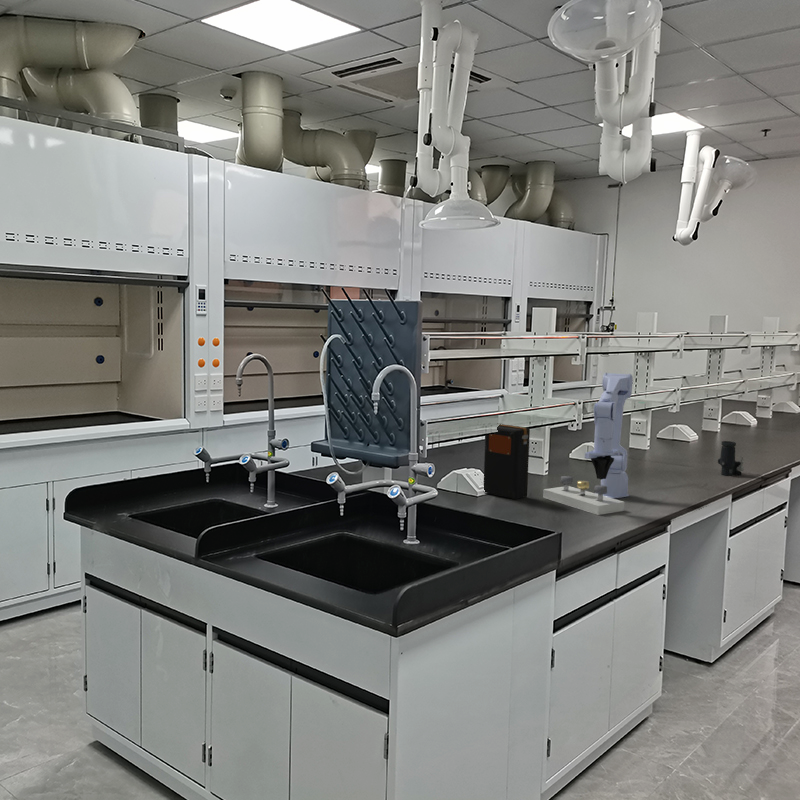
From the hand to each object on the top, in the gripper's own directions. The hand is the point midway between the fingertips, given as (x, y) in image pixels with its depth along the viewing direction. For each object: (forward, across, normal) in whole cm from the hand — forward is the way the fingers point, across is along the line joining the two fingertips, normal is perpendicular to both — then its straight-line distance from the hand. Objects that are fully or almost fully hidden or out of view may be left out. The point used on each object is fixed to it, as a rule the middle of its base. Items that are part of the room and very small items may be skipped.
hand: (601, 478), depth 244 cm
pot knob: (+8, 0, +8) cm, 11 cm away
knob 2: (+8, 0, 0) cm, 8 cm away
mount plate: (+10, 0, +8) cm, 13 cm away
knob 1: (+8, 0, +16) cm, 18 cm away
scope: (+11, +92, +16) cm, 94 cm away
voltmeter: (+11, -16, +30) cm, 36 cm away
